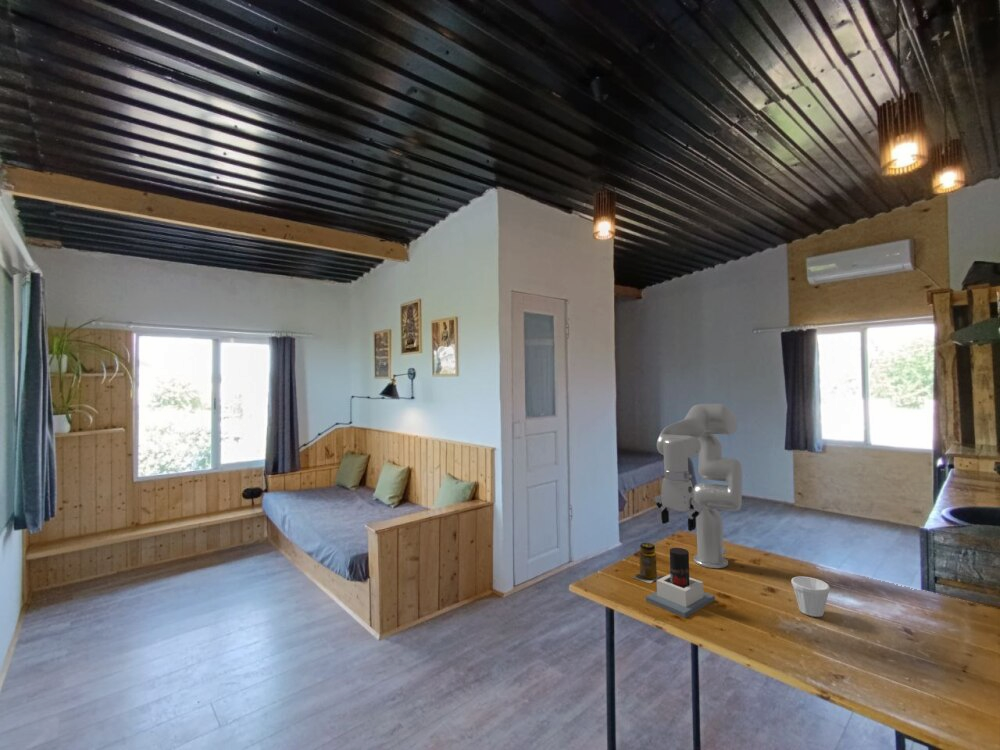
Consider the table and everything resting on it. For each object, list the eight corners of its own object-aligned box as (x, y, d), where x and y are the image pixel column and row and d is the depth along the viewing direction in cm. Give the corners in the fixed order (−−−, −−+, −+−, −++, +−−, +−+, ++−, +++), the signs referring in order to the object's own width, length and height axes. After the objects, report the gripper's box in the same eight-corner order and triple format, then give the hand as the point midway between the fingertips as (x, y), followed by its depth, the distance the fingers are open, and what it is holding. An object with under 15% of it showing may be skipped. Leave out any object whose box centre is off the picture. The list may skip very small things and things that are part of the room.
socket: (676, 585, 162) (675, 567, 162) (714, 600, 151) (713, 580, 151) (646, 601, 151) (645, 581, 151) (684, 617, 140) (683, 596, 140)
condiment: (661, 576, 170) (660, 544, 170) (650, 584, 164) (649, 550, 164) (643, 571, 175) (642, 540, 175) (632, 578, 169) (631, 545, 169)
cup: (837, 622, 135) (836, 591, 135) (800, 619, 137) (799, 589, 137) (821, 606, 145) (820, 577, 145) (786, 603, 147) (785, 575, 147)
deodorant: (666, 593, 153) (665, 549, 153) (680, 590, 155) (679, 546, 155) (679, 601, 147) (678, 555, 147) (693, 598, 149) (692, 552, 149)
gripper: (707, 477, 147) (709, 530, 147) (660, 469, 161) (662, 517, 161) (694, 481, 143) (696, 535, 143) (647, 473, 156) (649, 522, 156)
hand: (678, 526), depth 152 cm, fingers open, 9 cm apart
